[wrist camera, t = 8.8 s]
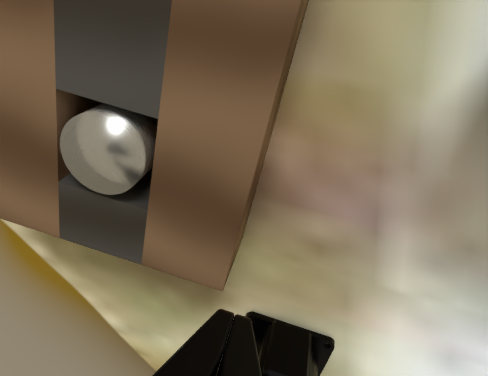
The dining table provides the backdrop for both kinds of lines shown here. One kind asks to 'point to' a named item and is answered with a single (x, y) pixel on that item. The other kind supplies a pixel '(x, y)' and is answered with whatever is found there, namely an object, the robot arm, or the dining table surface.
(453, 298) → the dining table surface
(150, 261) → the walnut block
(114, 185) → the peg
